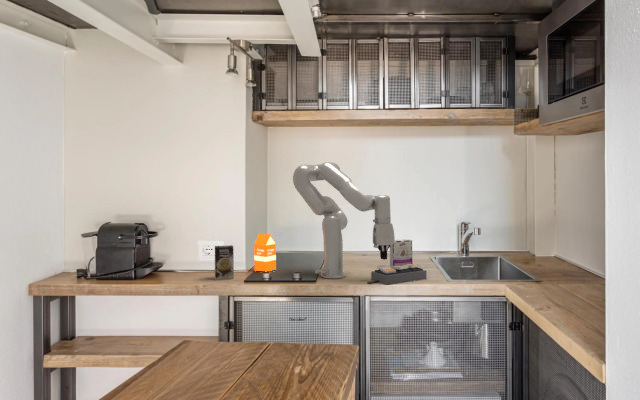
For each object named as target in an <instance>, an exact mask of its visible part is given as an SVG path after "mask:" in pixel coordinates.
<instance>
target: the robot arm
mask: <svg viewBox="0 0 640 400" xmlns="http://www.w3.org/2000/svg"><path fill="white" fill-rule="evenodd" d="M317 181H325V182H327V183H328V184H329V185H330V186H331V187H333V188H334V189H335V190H336V191H337V192H339V194H340V195H341V196H342V197H343V199H344V200H346V202H348V203H349V204H350V205H351V206H352V207H354V208H355V209H356V210H358V211H360V212H368V211H372V210H374V219H372V222H373V223H374V224H373V227H372V228H373V229H372V243H373V248H375V249H378V251H379V256H380V260H387V259H388V251H389V250H390V247H391V246H393V244H394V242H395V240H396V238H395V231H394V230H395V229H394V227H393V226H394V225H393V223H392V222H391V220H392V219H391V197H390V196H389V195H386V194H384V195H383V194H382V195H381V194H380V195H371V194H364V193H362V192H361V191H360V190H359V189H357V188H356V187H355V186H354V184H353V182H352V179H351V178H350V177H349V176H348V175H347V174H346V173H345V172H343V171H342V170H341V167H340V166H339V165H338V164H337V163H336V162H330V161H328V162H327V161H325V162H323V163H321V164H300V165H298V166H297V167H296V168H295V169H294V172H293V175H292V182H293V186H294V188H295V189H296V191H297V193H298V194H299V195H300V196H301V198H302V199H303V201H304V202H305V203H306V205H308V207H309V209H310V210H311V211H312V213H313V214H315V215H317V216H323V217H324V218H323V220H322V221H321V227H322V228H321V230H322V237H323V238H322V239H323V266H322V267H321V268H320V269H315V271H314V274H316V275H320V276H321V278H324V279H329V280H331V279H343V278H345V277H347V273H345V272H344V269H343V267H344V264H343V263H344V261H343V257H344V255H343V250H344V249H343V245H344V244H343V234H342V231H343V230H344V229H345V228H347V226H348V217H347V215H346V214H345V212H343V210H342V208H340V207H339V205H338V203H336V201H335V200H334V199H332V198H331V197H330V196H327V195H322V194H321V192H320V191H319V190H318V189H317V187H316V186H315V185H314V184H313V183H312V182H317Z"/></svg>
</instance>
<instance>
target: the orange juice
mask: <svg viewBox="0 0 640 400" xmlns="http://www.w3.org/2000/svg"><path fill="white" fill-rule="evenodd" d="M276 247H277V244H276V242H275V240H274V238H273V237H272V234H269V233H268V234H267V233H258V234H257V237H256V239H255V242H254V244H253V248H254V250H253V251H254V252H253V253H254V254H253V259H254V260H253V262H254V263H253V264H254V272H256V271H265V272H267V271H272V270H276V271H277V254H276V253H277V251H276V249H277V248H276Z"/></svg>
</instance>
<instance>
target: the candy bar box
mask: <svg viewBox="0 0 640 400" xmlns="http://www.w3.org/2000/svg"><path fill="white" fill-rule="evenodd" d="M409 264H413V240H412V239H410V238H409V239H407V238H406V239H395V242H394V244H393V246H391V247H389V267H393V266H402V265H409Z"/></svg>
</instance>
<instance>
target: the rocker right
mask: <svg viewBox="0 0 640 400" xmlns="http://www.w3.org/2000/svg"><path fill="white" fill-rule="evenodd" d="M402 266H408V268H414V267H418V268H421V264H420V263H416V264H415V263H412V264H409V265H402Z"/></svg>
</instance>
